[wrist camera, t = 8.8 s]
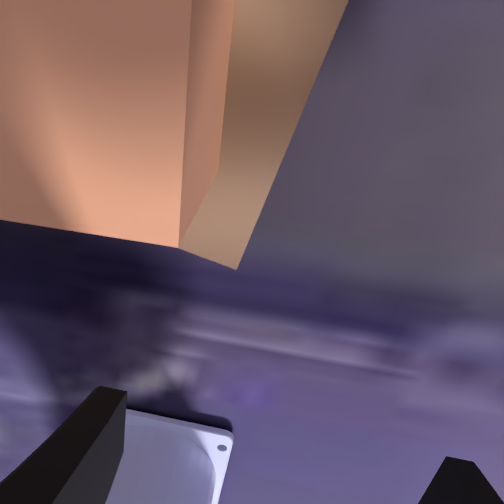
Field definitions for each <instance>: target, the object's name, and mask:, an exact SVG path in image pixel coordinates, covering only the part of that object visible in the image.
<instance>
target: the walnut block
mask: <svg viewBox="0 0 504 504" xmlns="http://www.w3.org/2000/svg"><path fill="white" fill-rule="evenodd" d="M348 1H349V0H235V1H234V12H233V22H232V32H231V43H230V53H229V64H228V74H227V85H226V95H225V105H224V116H223V126H222V137H221V147H220V157H219V168H218V172H217V174H216V176H215V178H214V180H213V182H212V184H211V186H210V188H209V189H208V191H207V193H206V195H205V197H204V199H203V201H202V203H201V205H200V207H199V209H198V211H197V213H196V214H195V216H194V218H193V220H192V222H191V224H190V226H189V228H188V230H187V232H186V234H185V236H184V237H183V239H182V241H181V243H180V245H179V247H178V248H179V249H182V250H184V251H187V252H190V253H193V254H195V255H198V256H201V257H203V258H206V259H209V260H211V261H214V262H217V263H219V264H222V265H225V266H228V267H230V268H233V269H236V270H237V267H238V265H239V263H240V260H241V258H242V255H243V253H244V251H245V248H246V246H247V243H248V241H249V239H250V236H251V234H252V231H253V229H254V227H255V224H256V222H257V219H258V217H259V215H260V212H261V210H262V207H263V205H264V203H265V200H266V198H267V195H268V193H269V191H270V188H271V186H272V183H273V181H274V179H275V176H276V174H277V171H278V169H279V167H280V164H281V162H282V159H283V157H284V155H285V152H286V150H287V147H288V145H289V142H290V140H291V138H292V135H293V133H294V130H295V128H296V126H297V123H298V121H299V118H300V116H301V114H302V111H303V109H304V106H305V104H306V102H307V99H308V97H309V94H310V92H311V90H312V87H313V85H314V82H315V80H316V78H317V75H318V73H319V70H320V68H321V66H322V63H323V61H324V58H325V56H326V54H327V51H328V49H329V46H330V44H331V42H332V39H333V37H334V34H335V32H336V29H337V27H338V25H339V22H340V20H341V17H342V15H343V13H344V10H345V8H346V5H347V3H348ZM176 248H177V247H176Z"/></svg>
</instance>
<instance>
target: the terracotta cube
mask: <svg viewBox="0 0 504 504" xmlns="http://www.w3.org/2000/svg"><path fill="white" fill-rule="evenodd" d="M234 1H235V0H0V220H6V221H12V222H19V223H25V224H31V225H38V226H44V227H50V228H57V229H63V230H69V231H76V232H82V233H88V234H95V235H101V236H107V237H114V238H120V239H126V240H133V241H139V242H145V243H152V244H158V245H164V246H171V247H177V248H178V247H179V245H180V243H181V241H182V239H183V237H184V236H185V234H186V232H187V230H188V228H189V226H190V224H191V222H192V220H193V218H194V216H195V214H196V213H197V211H198V209H199V207H200V205H201V203H202V201H203V199H204V197H205V195H206V193H207V191H208V189H209V188H210V186H211V184H212V182H213V180H214V178H215V176H216V174H217V172H218V168H219V157H220V147H221V137H222V126H223V116H224V105H225V95H226V85H227V74H228V64H229V53H230V43H231V32H232V22H233V12H234Z"/></svg>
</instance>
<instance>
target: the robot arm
mask: <svg viewBox="0 0 504 504" xmlns="http://www.w3.org/2000/svg"><path fill="white" fill-rule="evenodd" d="M126 401H127V391H123V390H118V389H113V388H108V387H103V386H99V387H97V388H96V389H94V391H93V392H92V393H91V394H90V395H89V396H88V397H87V398H86V399H85V401H84V402H83V403H82V404H81V405H80V406H79V407H78V408H77V409H76V410H75V411H74V412H73V413H72V414H71V415H70V416H69V417H68V419H67V420H66V421H65V422H64V423H63V424H62V425H61V426H60V427H59V428H58V429H57V430H56V431H55V432H54V433H53V434H52V435H51V436H50V437H49V438H48V439H47V440H46V441H45V442H43V443H42V444H41V445H40V446H39V447H38V448H37V449H36V450H35V451H34V452H33V453H32V454H31V455H30V456H29V457H28V458H27V459H26V460H25V461H24V462H22V463H21V464H20V465H19V466H18V467H17V468H16V469H15V470H14V471H13V472H12V473H11V474H10V475H8V476H7V477H6V478H5V479H4V480H3V481H2V482H0V504H218V500H219V496H220V492H221V488H222V484H223V480H224V476H225V472H226V469H227V465H228V461H229V457H230V453H231V449H232V445H233V439H234V436H233V434H232V433H231V432H230V431H228V430H224V429H220V428H215V427H210V426H206V425H201V424H196V423H191V422H187V421H182V420H177V419H172V418H168V417H163V416H158V415H154V414H149V413H144V412H139V411H135V410H130V409H126ZM418 504H504V502H503V501H502V500H501V498H500V497H499V496H498V494H497V493H496V491H495V490H494V489H493V487H492V486H491V485H490V483H489V482H488V481H487V479H486V478H485V476H484V475H483V474H482V472H481V471H480V470H479V469H478V467H477V466H476V465H475V463H474V462H472V461H467V460H462V459H457V458H452V457H447V456H446V458H445V459H444V461H443V463H442V464H441V466H440V468H439V469H438V471H437V473H436V475H435V476H434V478H433V480H432V481H431V483H430V485H429V486H428V488H427V490H426V491H425V493H424V495H423V496H422V498H421V500H420V501H419V503H418Z"/></svg>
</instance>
